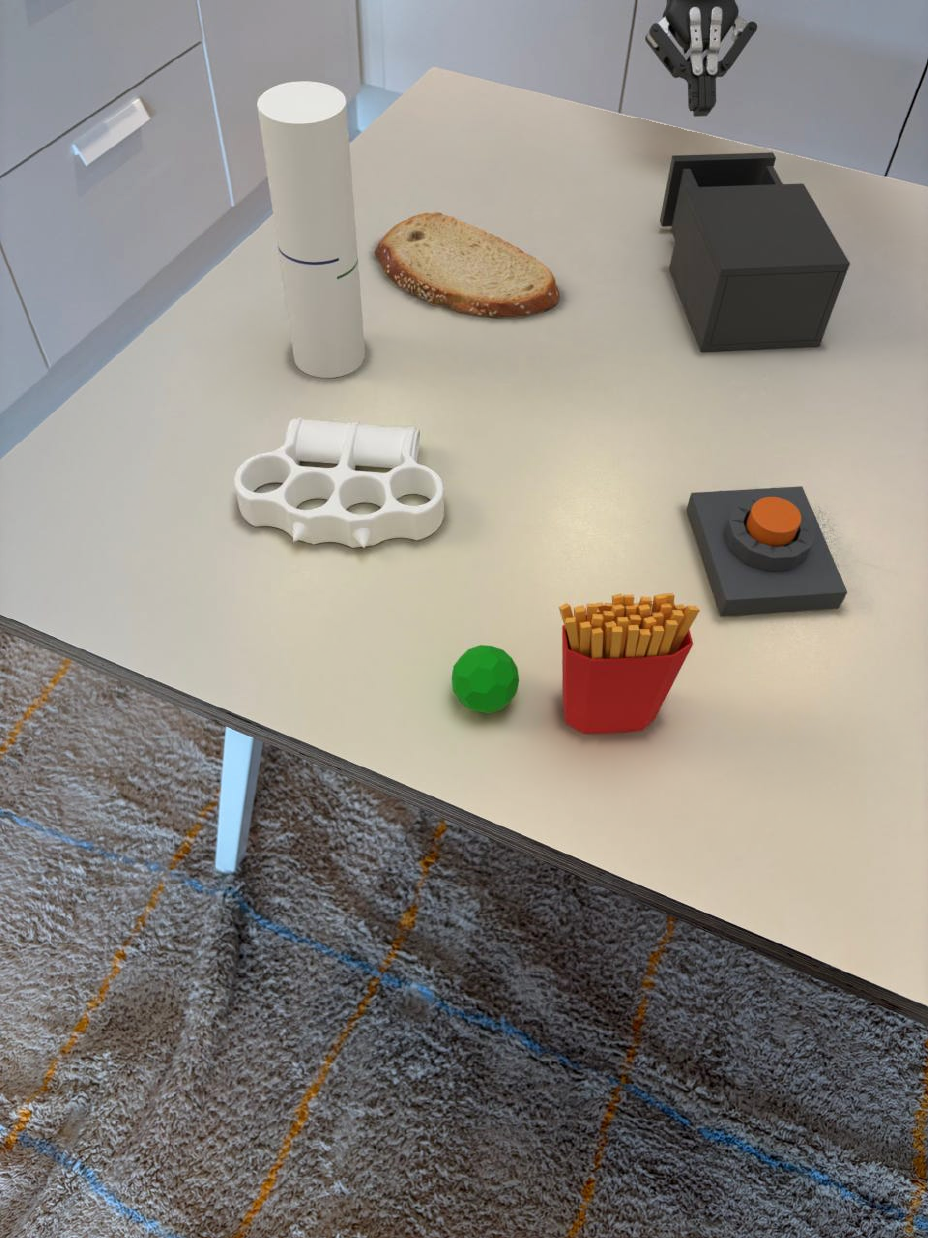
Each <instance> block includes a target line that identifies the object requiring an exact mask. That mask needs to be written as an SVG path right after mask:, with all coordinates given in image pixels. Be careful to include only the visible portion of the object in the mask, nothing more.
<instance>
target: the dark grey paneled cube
mask: <svg viewBox="0 0 928 1238" xmlns="http://www.w3.org/2000/svg"><path fill="white" fill-rule="evenodd" d="M850 265H851V262H850V261H849V260H848V258H847V256H846V255H845V252H844V251H843V249H842V248H841V245H840V244H839V242H838V240H837V238H836V237H835V235H834V233H833V232H832V230H831V228H830V227H829V225H828V223H827V222H826V220H825V218H824V216H823V214H822V213H821V211H820V209H819V207H818V205H817V204H816V202H815V200H814V199H813V197H812V195H811V194H810V192H809V190H808V189H807V187H806V185H805V183H783V184H774V185H745V186H716V187H687V188H686V189H685V195H684V199H683V204H682V209H681V214H680V218H679V223H678V228H677V233H676V238H675V239H674V243H673V249H672V253H671V257H670V262H669V268H668V270H669V271H668V272H669V273H670V275H671V278H672V280H673V284H674V286H675V288H676V289H675V290H676V291H677V294H678V296H679V299H680V302H681V304H682V307H683V310H684V313H685V315H686V318H687V320H688V322H689V325H690V329H691V331H692V333H693V335H694V338H695V341H696V343H697V346H698V348H699V351H700V352H701V353H705V352H707V353H708V352H731V351H749V350H750V351H751V350H752V351H753V350H768V349H769V350H771V349H789V348H790V349H791V348H793V349H794V348H807V347H808V348H813V347H820V346H821V344H822V341H823V338H824V336H825V333H826V330H827V327H828V324H829V322H830V319H831V316H832V314H833V311H834V309H835V305H836V302H837V300H838V297H839V294H840V292H841V289H842V286H843V283H844V282H845V281H844V280H845V278H846V276H847V272H848V271H849V268H850Z"/></svg>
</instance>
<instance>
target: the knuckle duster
mask: <svg viewBox="0 0 928 1238" xmlns="http://www.w3.org/2000/svg"><path fill="white" fill-rule="evenodd" d="M420 438H421V430H420V428H417V426H412V425H410V426H408V427H403V426H402V427H400V426H390V425H379V424H377V425H376V424H367V423H365V424H364V423H361V422H359V421H352V422H343V421H332V420H331V421H330V420H318V419H317V420H316V419H306V418H304V417H299V416H297V417H295V418H291V420H290V421H289V423H288V426H287V429H286V434H285V440H284V443H283V444H282V445H281V446H280V447H278V448H277V449H275V450H273V451H267V452H262V453H258V454H255V455H253V456H250V457H249V458H247V459H246V460H245V461H243V462H242V463H241V464H240V466H238V468H237V470H236V471H235V474H234V477H233V487H234V492H235V495H236V499H237V504H238V508H239V512H240V514H241V516H242V517H243V519H244V520H245V521H246V522H247V523H248V524H250V525H252V526H253V527H255V528H257V527H272V528H276V529H279V530H282V531H284V532H285V533H287V534H289V536H291V538H292V543H295V542H298V541H301V542H304V543H307V544H310V545H317V544H322V543H337V544H342V545H345V546H348V547H349V548H352V549H355V548H362V549H366V547H371V546H372V547H373V546H376V545H377V544H379V543H381V542H384V541H386V540H391V539H397V538H398V539H401V538H403V539H410V540H414V541H419V540H423V539H425V538H428V537H430V536H431V535H433V534H434V533H435V532H436V531H437V530H438V529H439V528H440V526H441V525H442V523H443V520H444V517H445V488H444V487H445V486H444V483H443V480H442V479H441V477H440V475H438V473H437V472H436V471H434V469H432V468H430V467H428V466H426V465H424V464H420V463H418V456H419V449H420V448H419V447H420ZM301 462H310V463H323V464H337V465H336V466H334V467H317V466H303V465H300V463H301ZM357 466H361V467H372V468H385V469H390V470H389V471H387V472H377V471H376V472H375V471H363V470H356V468H357ZM273 483H280V484H281V485H280V486H279V487H278V488H276V489H273V490H271V491H267V492H255V491H256V490H257V489H259V488H260V487H262V486H265V485H267V484H273ZM407 495H419V496H422V497H425V498H427V499H429V501H428V502H425V503H423V504H419V505H409V504H404V503H402V502H400V501H398V499H400V498H401V497H404V496H407ZM314 499H320V500H321V499H322V500H326V501H325V503H324V504H322V505H321V506H319V507H316V508H313V509H299V508H297V507H299V506H300V505H301V504H302V503H304V502H306V501H308V500H314ZM362 503H369V504H370V503H371V504H374V505H376V506H378V507H380V508H379V509H378V510H377V511H374V512H372V513H367V514H357V513H353V512H350V511H348V509H349V508H350V507H352V506H353V505H357V504H362Z"/></svg>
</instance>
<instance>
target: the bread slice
mask: <svg viewBox="0 0 928 1238" xmlns="http://www.w3.org/2000/svg"><path fill="white" fill-rule="evenodd" d="M374 255H375V258H376V259H377V260H378V261H379V264H380V267H381V269H382V271H383V272H384V274H385V275H386V276H387V277H388V278H389V279H390V281H392V282H393V283H394V284H395V285H396V286H398V287H399V288H401V289H404V290H406V291H407V292H408V294H411V295H413V296H415V297H417V298H418V299H421V300H423V301H425V302H428V303H429V304H431V305H434V306H435V305H437V306H444V307H446V308H447V307H448V308H449V309H452V310H454V311H456V312H457V313H462V314H467V315H472V316H479V317H480V316H481V317H489V318H501V319H502V318H503V319H504V318H516V317H527V316H531V315H535V314H539V313H542V312H545V311H547V310H549V309H550V308H552V307H554V306H555V307H556V306H557V303H558V302H559V301H560V295H561V293H560V290H559V288H558V285H557V283H556V279H555V277H554V274H553V272H552V271H551V270H550V268H549V267H547V266H546V265H544V264H543V263H542V262H541V261H539V260H537V259H536V257H533V256H532V255H531V254H529V253H525V252H524V251H523V250H522V249H520V248H519V247H517V246H515V245H513V244H511V243H510V242H508V241H506V240H504V239H502V238H501V237H499V236H497V235H496V236H495V235H494V234H493V233H489V232H487V231H486V230H483V229H480V228H478V227H477V226H474V225H472V224H470V223H466V222H464V221H461V220H459V219H456V217H454V216H451V215H447V214H442V212H440V211H436V212H433V213H432V212H423V213H421V214H417V215H413V216H411V217H409V218H407V219H405V220H402V221H401V222H399V223H397V224H395V225H394V226H393V227H391V229H390V230H389V231H387V232H386V234H385V235H384V236H383V237H382V238H381V239H380V240H379V242H378V244H377V246H376V248H375V251H374Z"/></svg>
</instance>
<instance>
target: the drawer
mask: <svg viewBox="0 0 928 1238" xmlns="http://www.w3.org/2000/svg"><path fill="white" fill-rule="evenodd" d="M776 160H777V156H776V155H775V153H774V152H772V151H770V152H769V151H768V152H766V151H765V152H742V153H741V152H738V153H736V152H735V153H709V154H707V153H706V154H704V153H703V154H679V155H671V159H670V164H669V169H668V175H667V181H666V186H665V190H664V197H663V202H662V206H661V213H660V218H659V223H660V225H661V227H662V228H663V227H664V228H666V227H671V229H670V231H671V234H672V237H673V239H674V240H675V238H676V233H677V228H678V223H679V218H680V214H681V209H682V204H683V199H684V195H685V189H686V188H687V187H716V186H745V185H774V184H784V183H783V181H782V179H781V178H780V176H779V174H778V172H777V171H776V169H775V164H776Z"/></svg>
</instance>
